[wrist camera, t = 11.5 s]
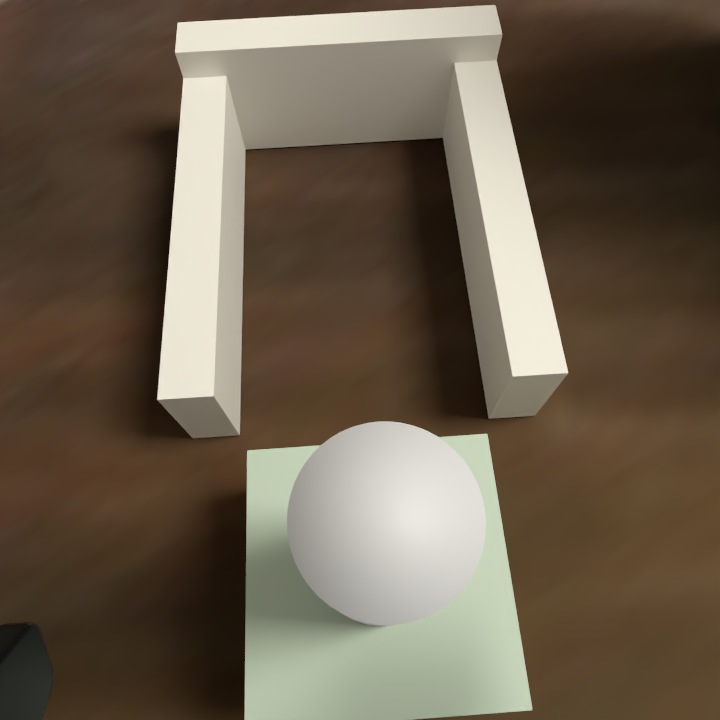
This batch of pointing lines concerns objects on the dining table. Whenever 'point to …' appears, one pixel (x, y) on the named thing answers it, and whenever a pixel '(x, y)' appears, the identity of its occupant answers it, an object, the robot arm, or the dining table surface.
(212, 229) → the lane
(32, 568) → the dining table surface
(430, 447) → the handle block
